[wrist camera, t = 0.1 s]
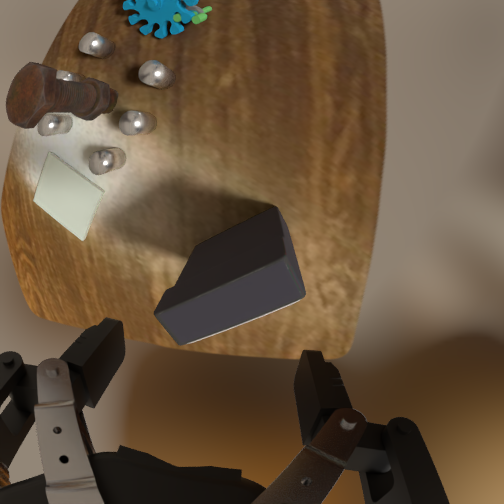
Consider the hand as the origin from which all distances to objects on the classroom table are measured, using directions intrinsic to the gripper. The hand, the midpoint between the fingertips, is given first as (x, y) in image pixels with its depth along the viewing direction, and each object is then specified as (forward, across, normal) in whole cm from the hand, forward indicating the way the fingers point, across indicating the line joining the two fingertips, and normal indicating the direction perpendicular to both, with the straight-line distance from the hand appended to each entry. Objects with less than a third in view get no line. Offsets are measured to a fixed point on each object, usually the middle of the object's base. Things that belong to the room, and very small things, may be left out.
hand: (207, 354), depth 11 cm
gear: (+19, +12, -27) cm, 35 cm away
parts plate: (+22, +24, -3) cm, 33 cm away
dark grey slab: (+23, 0, 0) cm, 23 cm away
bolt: (+21, +18, -15) cm, 31 cm away
